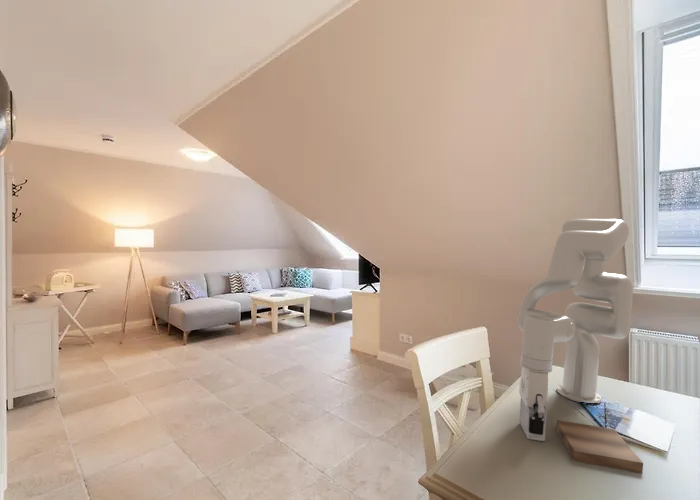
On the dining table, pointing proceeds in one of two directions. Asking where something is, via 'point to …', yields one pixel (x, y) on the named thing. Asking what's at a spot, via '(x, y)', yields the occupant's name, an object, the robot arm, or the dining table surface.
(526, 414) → the medicine box
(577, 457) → the brown wooden block
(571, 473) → the dining table surface
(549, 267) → the robot arm
